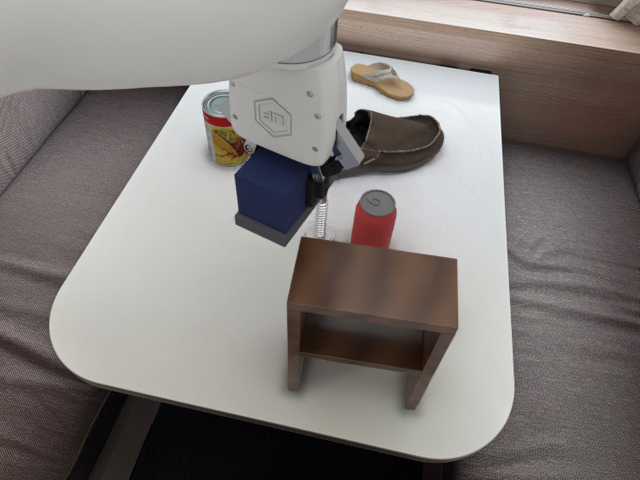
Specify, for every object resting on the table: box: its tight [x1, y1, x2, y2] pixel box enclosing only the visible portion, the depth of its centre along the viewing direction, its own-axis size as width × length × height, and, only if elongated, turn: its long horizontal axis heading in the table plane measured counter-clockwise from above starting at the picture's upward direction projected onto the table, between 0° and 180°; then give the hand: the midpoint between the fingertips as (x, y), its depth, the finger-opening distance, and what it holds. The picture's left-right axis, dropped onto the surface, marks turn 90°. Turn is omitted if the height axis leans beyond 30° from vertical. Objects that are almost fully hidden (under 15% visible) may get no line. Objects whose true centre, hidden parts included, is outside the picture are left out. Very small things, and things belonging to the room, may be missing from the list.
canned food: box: [200, 88, 250, 167], centre depth 98 cm, size 8×8×12 cm
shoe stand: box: [286, 236, 459, 411], centre depth 66 cm, size 18×9×24 cm, turn 82°
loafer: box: [337, 108, 445, 178], centre depth 99 cm, size 11×30×11 cm, turn 110°
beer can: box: [349, 188, 398, 249], centre depth 85 cm, size 7×7×12 cm
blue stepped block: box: [233, 133, 351, 248], centre depth 55 cm, size 15×6×7 cm, turn 152°
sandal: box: [349, 61, 415, 101], centre depth 116 cm, size 7×16×5 cm, turn 64°
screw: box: [305, 193, 335, 241], centre depth 85 cm, size 13×5×5 cm
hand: (289, 185), depth 55 cm, fingers closed on blue stepped block, 5 cm apart
